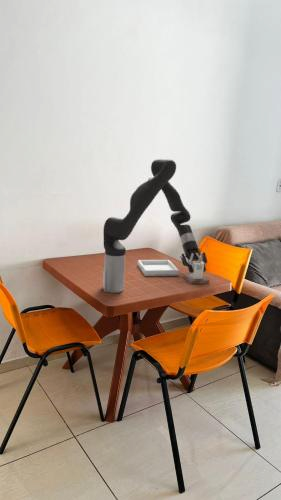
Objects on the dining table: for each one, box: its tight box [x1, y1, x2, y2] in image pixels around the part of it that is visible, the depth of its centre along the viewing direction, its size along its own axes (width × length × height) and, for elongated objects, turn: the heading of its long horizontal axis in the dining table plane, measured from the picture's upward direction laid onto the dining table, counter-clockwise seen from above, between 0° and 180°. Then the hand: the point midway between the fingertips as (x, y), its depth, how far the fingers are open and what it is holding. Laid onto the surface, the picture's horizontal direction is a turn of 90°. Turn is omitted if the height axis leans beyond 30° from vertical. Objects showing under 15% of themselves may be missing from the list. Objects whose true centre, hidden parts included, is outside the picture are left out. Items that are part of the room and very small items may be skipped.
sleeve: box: [189, 261, 204, 279], centre depth 193 cm, size 5×6×8 cm
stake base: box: [182, 273, 210, 285], centre depth 194 cm, size 10×10×6 cm
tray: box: [137, 259, 180, 277], centre depth 206 cm, size 18×18×3 cm
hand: (198, 271), depth 192 cm, fingers open, 6 cm apart
